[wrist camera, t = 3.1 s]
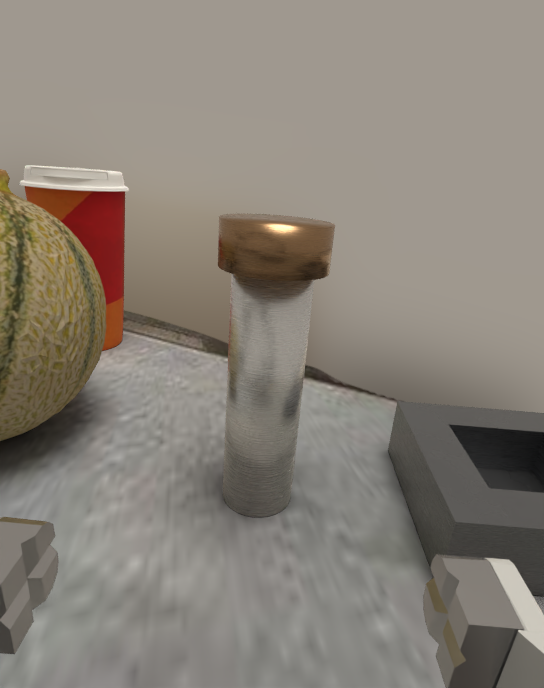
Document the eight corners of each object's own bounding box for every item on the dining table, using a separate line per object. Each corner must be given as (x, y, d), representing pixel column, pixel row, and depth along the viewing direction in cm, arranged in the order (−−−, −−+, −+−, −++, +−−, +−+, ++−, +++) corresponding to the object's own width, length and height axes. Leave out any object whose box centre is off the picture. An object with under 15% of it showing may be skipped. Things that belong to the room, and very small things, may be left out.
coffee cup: (51, 326, 44) (33, 164, 39) (137, 326, 46) (131, 171, 41) (27, 359, 37) (1, 164, 31) (131, 357, 39) (123, 173, 33)
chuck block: (437, 587, 19) (455, 521, 18) (388, 450, 28) (397, 401, 27) (745, 612, 19) (785, 549, 17) (593, 467, 28) (612, 418, 27)
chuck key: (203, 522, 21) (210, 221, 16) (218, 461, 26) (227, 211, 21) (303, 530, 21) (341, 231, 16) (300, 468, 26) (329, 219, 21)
